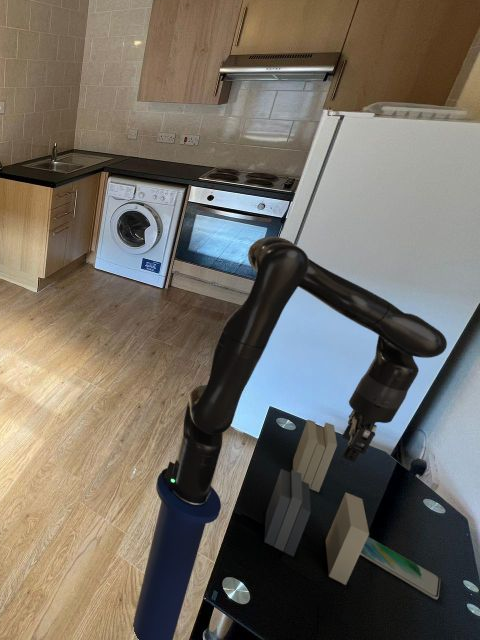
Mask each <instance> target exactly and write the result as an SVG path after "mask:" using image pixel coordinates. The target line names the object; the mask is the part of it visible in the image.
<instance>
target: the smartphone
mask: <svg viewBox="0 0 480 640" xmlns="http://www.w3.org/2000/svg"><path fill="white" fill-rule="evenodd" d="M359 556H362V557H363V558H364V559H367V560H368V561H370V562H372V563H373V564H375V565H376V566H378V567H380V568H381V569H383V570H384V571H387V572H388V573H390V574H391V575H393V576H395V577H397V578H398V579H400V580H402V581H404V582H405V583H407V584H408V585H410V586H411V587H413V588H415V589H417V590H418V591H420V592H421V593H423V594H425V595H427V596H428V597H430V598H431V599H433V600H438V599H439V596H440V588H441V578H440V577H439V576H438V575H437V574H435V573H433V572H431V571H430V570H427V569H426V568H424V567H423V566H421V565H419V564H417V563H415V562H414V561H412V560H410V559H409V558H407V557H405V556H404V555H401V554H399V553H398V552H396V551H394V550H393V549H392V548H389V547H387V546H386V545H384V544H382V543H380V542H378V541H377V540H375V539H373V538H372V537H370V536H368V538H367V540H366V542H365V544H364V546H363V549H362V551H361V553H360V555H359Z"/></svg>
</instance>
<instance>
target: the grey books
mask: <svg viewBox="0 0 480 640" xmlns="http://www.w3.org/2000/svg"><path fill="white" fill-rule="evenodd" d="M310 491H311V489H309V484H308V483H306V482H303V481H302V478H301V473H299V472H296V471H294V470H293V469H291V471H287V470H285V469H283V468H281V469H280V472H279V475H278V477H277V480H276V483H275V487H274V488H273V492H272V495H271V497H270V500H269V503H268V506H267V510H266V512H265V522H264V523H265V525H264V539H263V542H264V543H265V544H267V545H269V546H271V547H274V548H275V549H277V550H279V551H281V552H284V553H285V554H287V555H289V556H291V557H295V554H296V552H297V549H298V546H299V545H300V542H301V539H302V537H303V533H304V532H305V528H306V526H307V523H308V521H309V518H310V516H311V513H312V509H311V508H312V507H311V492H310Z"/></svg>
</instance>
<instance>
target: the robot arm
mask: <svg viewBox="0 0 480 640" xmlns="http://www.w3.org/2000/svg"><path fill="white" fill-rule="evenodd" d="M247 259H248V262H249V264H250V266H251V268H252V269H253V270H254V271H255V272H256V274H255V278H254V282H253V284H252V286H251V289H250V291H249V294H248V296H247V297H246V300H245V301H243V303H242V304H241V305H240V306H239V307H238V308H237V309H235V311H234V312H233V313H231V314H230V316H228V318H227V319H226V320H225V323H224V324H223V326H222V329H221V331H220V333H219V336H218V338H217V340H216V343H215V345H214V350H213V356H212V360H211V361H212V362H211V367H210V373H209V378H208V381H207V383H206V384H203V385H202V384H201V385H198V386H196V387H195V388H194V389H192V391H191V392H190V393H189V396H188V400H187V403H186V409H185V413H184V419H183V425H182V433H181V438H180V441H179V446H178V449H177V450H178V451H177V454H176V458H175V460H174V462H172V461H169V462H168V464H167V467H166V468H164V469H162V470H161V472H162V477H163V480H164V481H166V480H169V481H170V485H169V489H168V490H169V491H171V492H172V493H173V494H174V495H175V496H176V497H177V498H178V499H179V500H181V501H182V502H184V503H186V504H188V505H191V506H203V505H205V504H206V502H207V499H208V497H209V495H210V493H209V490H210V487H211V486H212V483H213V479H214V475H215V472H216V469H217V466H218V463H219V462H218V461H219V457H220V454H221V450H222V447H223V440H224V439H223V438H224V437H223V435H224V432H226V431H227V430H229V429H230V427H231V426H232V424H233V422H234V419H235V415H236V412H237V408H238V405H239V402H240V399H241V396H242V395H243V392H244V390H245V388H246V386H247V385H248V383H249V381H250V379H251V377H252V375H253V373H254V371H255V369H256V367H257V365H258V364H259V362H260V360H261V358H262V357H263V354H264V352H265V350H266V348H267V346H268V343H269V341H270V338H271V336H272V334H273V333H274V330H275V328H276V327H277V324H278V322H279V320H280V317H281V315H282V313H283V312H284V309H285V307H286V306H287V305H288V303H289V301H290V300H291V298H292V297H293V295H294V293H295V292H296V290H297V289H298V288H300V289H301V290H302V291H305V292H306V293H308V294H310V295H311V296H312V297H314V298H315V299H317V300H319V301H320V302H321V303H323V304H324V305H326V306H327V307H329V308H330V309H332V310H333V311H334V312H336V313H338V314H340V315H341V316H343V317H345V318H347V319H348V320H350V321H351V322H354V323H355V324H358V325H359V326H361V327H363V328H365V329H368V331H370V332H373V333H375V334H376V335H377V337H378V338H377V342H376V348H375V356H374V358H373V359H372V361H371V363H370V365H369V367H368V369H367V370H366V372H365V373H364V375H363V376H362V377H361V378H360V380H359V382H358V383H357V386H356V387H355V389H354V391H353V393H352V395H351V396H350V398H349V400H348V404H349V406H350V408H351V409H352V411H351V413H350V414H349V415H348V421H347V426H346V428H345V430H344V431H343V433H342V438H343V439H344V440H347V441H348V442H347V445H346V447H345V449H344V450H343V452H342V458H343V459H345V460H348V461H350V462H352V463H354V462H356V460H357V458H358V457H359V455H360V454H363V455H365V454H366V452H367V450H368V448H369V447H370V445H371V443H372V441H373V439H374V437H376V430H377V427H378V425H376V423H381V424H389V423H391V422H392V421H393V419H394V418H395V416H396V415H397V413H398V411H399V409H400V408H401V406H402V405H403V403H404V402H405V400H406V398H407V395H408V392H409V390H410V388H411V387H412V385H413V384H414V382H415V380H416V378H417V377H418V374H419V366H418V364H417V363H416V361H415V358H414V357H416V358H421V359H430V358H435V357H438V356H440V355H442V354H443V353H444V352H445V350H446V349H447V346H448V342H447V338H446V337H445V335H444V334H443V332H441V331H440V330H439V329H438V328H436V327H435V326H433V325H431V323H428V322H427V321H426V320H424V319H423V318H422V317H420V316H418V315H415V314H412V313H407V312H404V311H402V310H400V309H399V308H398V307H397V306H395V305H394V304H393V303H391V302H390V301H388V300H386V299H384V298H383V297H381V296H379V295H377V294H376V293H374V292H372V291H370V290H368V289H366V288H364V287H363V286H360V285H358V284H356V283H355V282H352V281H350V280H348V279H346V278H344V277H342V276H340V275H338V274H336V273H334V272H332V271H330V270H328V269H326V268H325V267H323V266H322V265H319V263H316V262H315V261H313V260H312V259H310V258H309V257H308V254H307V253H306V252H305V250H303V249H302V248H301V247H299V246H298V245H296V244H294V243H293V242H292V241H290V240H288V239H287V238H283V237H279V236H265V237H262V238H259V239H257V240H256V241H254V242H253V243H252V244H251V245H250V247H249V249H248V250H247ZM165 473H166V474H165ZM210 492H211V491H210Z"/></svg>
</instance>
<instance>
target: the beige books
mask: <svg viewBox="0 0 480 640" xmlns="http://www.w3.org/2000/svg"><path fill="white" fill-rule="evenodd" d="M336 436H337V435H336V430H335V425H334V424H332V423H329V422H325V423H324V426H323V427H322V426H319V425H317V423H316V421H315V420H314V421H313V420H311V419H307V420H306V422H305V425H304V429H303V430H302V434H301V436H300V440H299V442H298V445H297V447H296V451H295V454H294V457H293V460H292V470H294V471H296V472H299V473H301V478H302V481H303V482H306V483H308V484H309V490H312V491H313V492H314V491H315V492H317V493H319V492H320V491H321V488H322V486H323V484H324V483H323V482H324V480H325V478H326V475H327V473H328V469H329V467H330V464H331V462H332V460H333V457H334V454H335V451H336V449H337V447H338V442H337V437H336Z"/></svg>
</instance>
